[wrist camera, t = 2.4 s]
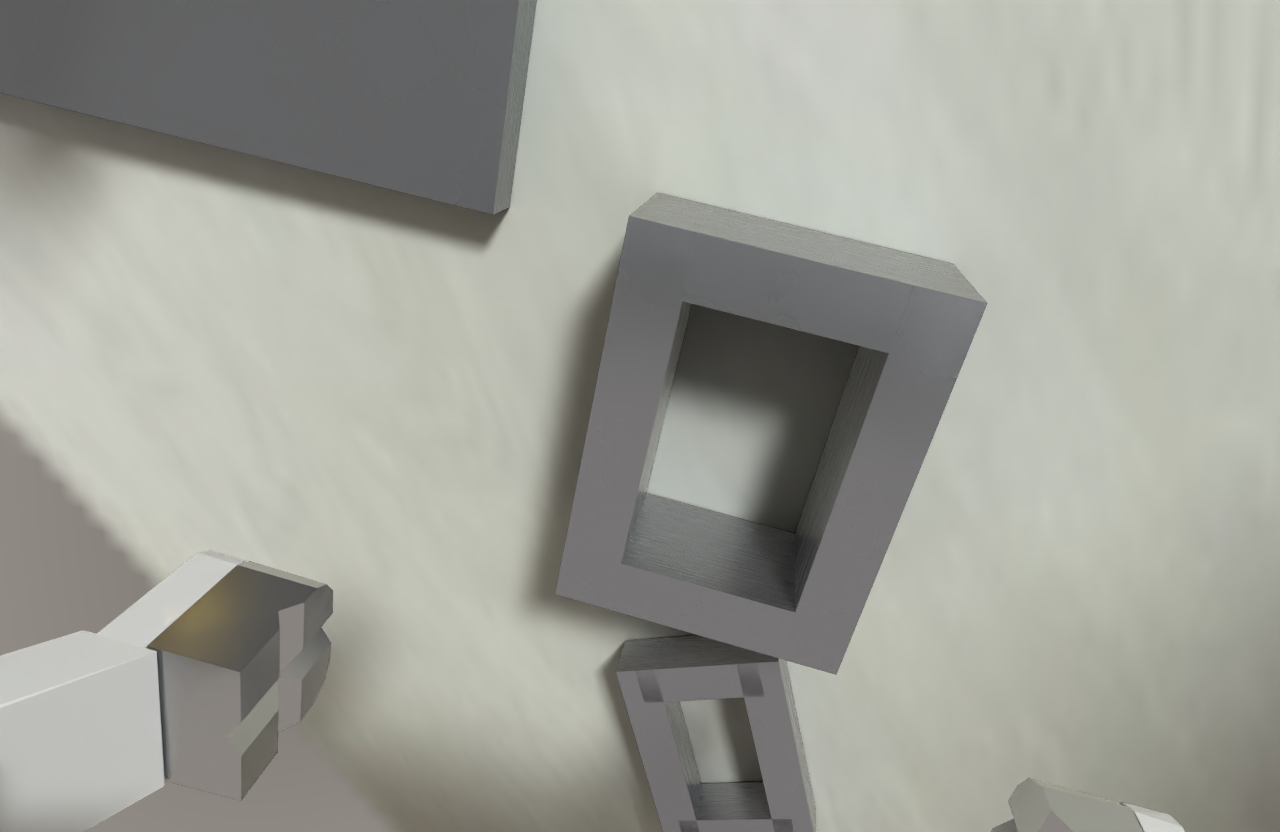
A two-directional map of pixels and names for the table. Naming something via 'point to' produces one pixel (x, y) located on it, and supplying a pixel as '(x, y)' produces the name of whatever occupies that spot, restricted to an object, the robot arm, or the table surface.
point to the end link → (852, 458)
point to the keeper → (296, 81)
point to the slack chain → (652, 687)
